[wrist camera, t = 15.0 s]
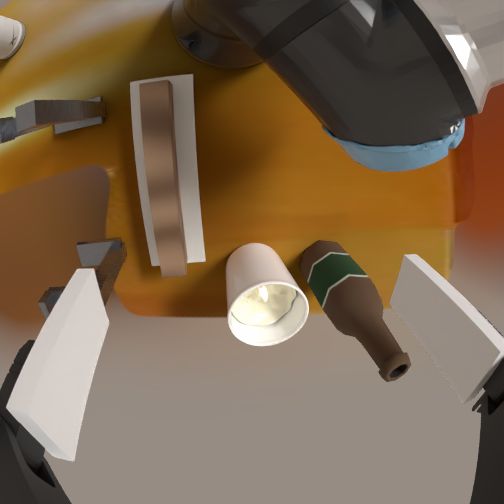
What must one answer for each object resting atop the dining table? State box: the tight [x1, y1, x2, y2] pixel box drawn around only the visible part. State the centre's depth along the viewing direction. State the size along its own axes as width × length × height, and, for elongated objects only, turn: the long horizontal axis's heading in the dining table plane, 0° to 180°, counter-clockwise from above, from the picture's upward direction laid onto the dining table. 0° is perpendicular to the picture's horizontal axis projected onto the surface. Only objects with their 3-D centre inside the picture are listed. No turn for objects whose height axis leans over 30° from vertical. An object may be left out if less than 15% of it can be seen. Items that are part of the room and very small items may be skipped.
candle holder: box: [226, 243, 309, 346], centre depth 39 cm, size 10×10×12 cm
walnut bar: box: [139, 80, 188, 278], centre depth 34 cm, size 24×3×5 cm, turn 1°
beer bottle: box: [300, 240, 411, 382], centre depth 36 cm, size 8×8×24 cm
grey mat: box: [130, 74, 206, 266], centre depth 36 cm, size 26×8×1 cm, turn 1°
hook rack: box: [0, 97, 127, 320], centre depth 27 cm, size 24×8×18 cm, turn 1°
